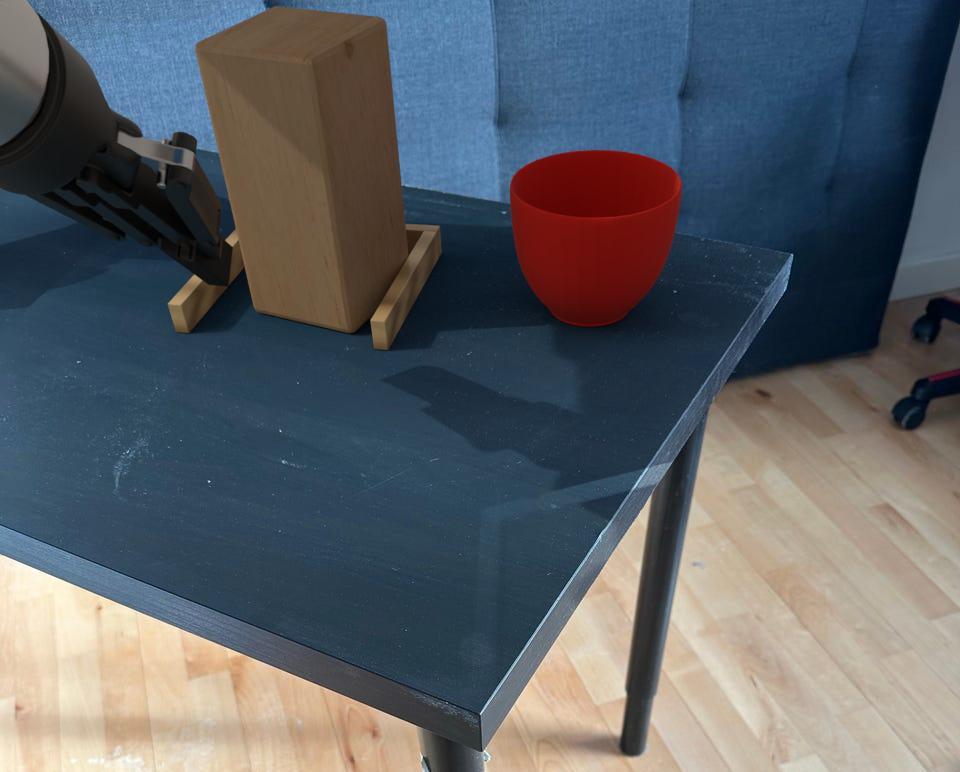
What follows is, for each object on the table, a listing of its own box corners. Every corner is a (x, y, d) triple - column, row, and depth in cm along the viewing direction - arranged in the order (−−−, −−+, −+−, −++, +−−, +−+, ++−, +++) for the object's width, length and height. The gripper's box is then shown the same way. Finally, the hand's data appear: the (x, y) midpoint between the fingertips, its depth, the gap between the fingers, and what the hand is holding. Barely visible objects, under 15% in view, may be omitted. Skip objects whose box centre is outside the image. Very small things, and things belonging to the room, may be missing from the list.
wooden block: (413, 282, 82) (388, 15, 67) (353, 336, 76) (311, 56, 61) (317, 262, 85) (273, 3, 70) (252, 313, 79) (190, 42, 64)
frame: (388, 350, 74) (384, 321, 72) (175, 332, 77) (167, 303, 75) (441, 252, 85) (440, 225, 84) (254, 240, 89) (248, 213, 87)
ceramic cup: (609, 241, 86) (617, 123, 78) (696, 328, 75) (714, 200, 67) (475, 267, 83) (470, 148, 76) (544, 361, 72) (546, 231, 65)
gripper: (-150, 155, 43) (129, 313, 66) (105, 169, 41) (302, 328, 64) (-136, -12, 43) (141, 206, 66) (123, -7, 40) (315, 216, 64)
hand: (220, 266), depth 65 cm, fingers closed
